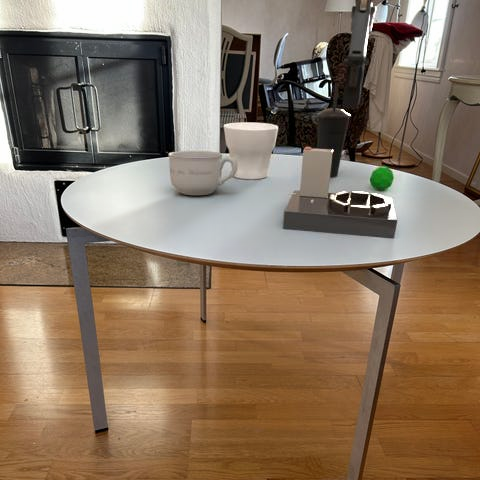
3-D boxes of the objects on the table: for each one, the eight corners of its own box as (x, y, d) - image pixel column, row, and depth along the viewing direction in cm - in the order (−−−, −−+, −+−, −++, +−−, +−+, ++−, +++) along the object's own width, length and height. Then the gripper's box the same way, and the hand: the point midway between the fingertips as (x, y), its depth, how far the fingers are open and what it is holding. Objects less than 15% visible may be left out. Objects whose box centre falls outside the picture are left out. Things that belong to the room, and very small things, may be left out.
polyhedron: (371, 192, 102) (374, 169, 100) (365, 186, 107) (369, 164, 104) (394, 192, 103) (398, 169, 100) (388, 187, 107) (391, 165, 105)
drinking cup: (339, 171, 120) (349, 82, 110) (346, 178, 113) (358, 84, 103) (308, 171, 119) (316, 81, 110) (314, 178, 113) (323, 83, 103)
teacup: (160, 195, 97) (157, 153, 93) (187, 183, 106) (186, 145, 102) (221, 204, 92) (221, 161, 88) (244, 192, 101) (245, 152, 97)
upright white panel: (328, 195, 88) (333, 148, 84) (327, 198, 86) (332, 150, 82) (300, 193, 89) (304, 146, 85) (299, 196, 87) (303, 148, 83)
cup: (212, 176, 113) (212, 125, 107) (242, 167, 122) (243, 120, 116) (258, 184, 107) (259, 131, 101) (285, 174, 116) (288, 125, 110)
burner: (387, 202, 84) (389, 193, 84) (391, 219, 76) (392, 209, 75) (330, 198, 86) (331, 189, 85) (327, 214, 78) (328, 204, 77)
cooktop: (388, 211, 90) (391, 194, 89) (394, 238, 77) (397, 219, 76) (290, 203, 94) (291, 187, 92) (279, 228, 80) (280, 209, 79)
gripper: (350, -25, 91) (335, 98, 102) (342, -48, 70) (325, 109, 80) (390, -25, 90) (372, 100, 100) (395, -49, 69) (371, 112, 79)
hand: (351, 104), depth 90 cm, fingers open, 13 cm apart
